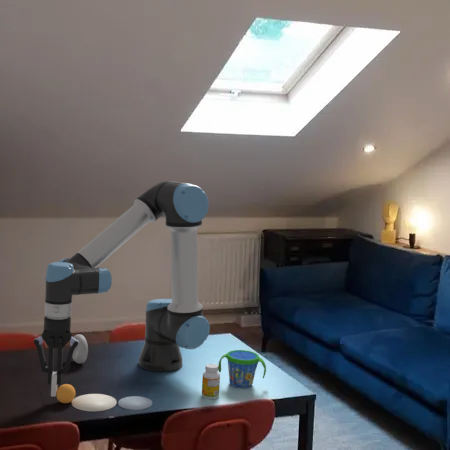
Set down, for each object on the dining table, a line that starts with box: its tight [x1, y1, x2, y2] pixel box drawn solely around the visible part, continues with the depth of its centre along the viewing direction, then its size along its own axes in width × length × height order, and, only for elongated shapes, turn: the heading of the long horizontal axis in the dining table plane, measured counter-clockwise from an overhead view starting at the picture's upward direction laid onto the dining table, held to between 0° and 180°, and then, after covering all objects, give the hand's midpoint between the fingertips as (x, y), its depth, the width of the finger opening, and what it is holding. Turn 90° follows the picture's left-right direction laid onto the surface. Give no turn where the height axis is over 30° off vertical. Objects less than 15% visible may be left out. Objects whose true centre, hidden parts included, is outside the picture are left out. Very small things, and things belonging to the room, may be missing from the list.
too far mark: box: [117, 395, 153, 411], centre depth 204 cm, size 10×10×1 cm
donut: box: [72, 333, 89, 365], centre depth 236 cm, size 10×4×10 cm, turn 34°
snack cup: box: [217, 349, 267, 389], centre depth 224 cm, size 16×10×10 cm
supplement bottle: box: [201, 363, 221, 400], centre depth 213 cm, size 5×5×10 cm
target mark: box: [71, 393, 118, 412], centre depth 203 cm, size 13×13×1 cm
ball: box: [56, 383, 77, 404], centre depth 201 cm, size 6×6×6 cm
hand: (54, 394), depth 201 cm, fingers closed
